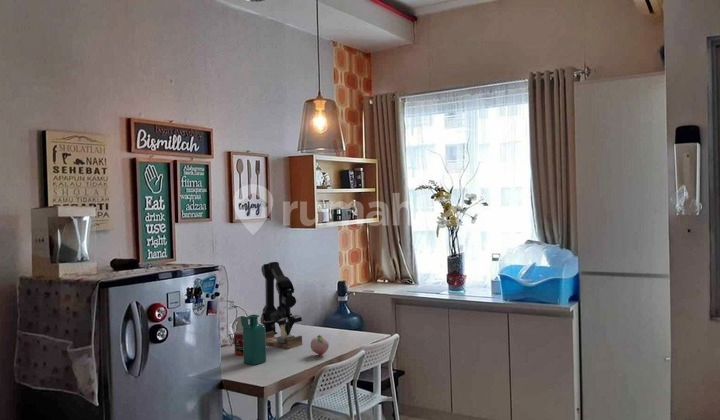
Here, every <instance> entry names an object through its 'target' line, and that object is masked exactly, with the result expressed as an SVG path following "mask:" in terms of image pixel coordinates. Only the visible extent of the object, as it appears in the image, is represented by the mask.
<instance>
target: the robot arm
mask: <svg viewBox="0 0 720 420" xmlns="http://www.w3.org/2000/svg"><path fill="white" fill-rule="evenodd" d="M261 273H262V276H263V278H264V279H265V281H264V283H265V305H264V307H263V308H262V313H261V316H260V320H259V321H260V325H263V326H265V333H267V332H271V331H274V335H277V334H278V332H277V331H276V329H277V328H276V324H278V326H279V330H281V326H280V325H284V324H286V331H287V335H289V333H290V332H291V331H292V328H293V326H294V324H297V323H300V322H302V321H303V319H302V318H303V317H302V316H301V315H298V314H297V315H296V314H295V315H293V313H292V312H291V308H293V307H294V306H296V303H297V299H296V296H295V295H293V294H294V293H295V287H294V285H293V282H292V281H291V279H290V278H289V277H288V276H286V275H284V273H283V271H282V269H281V266H280V263H279V261H270V262H268V263H263V265H262V266H261ZM275 281H276V282H275ZM275 289H276V291H277V294H278V305H277V307H275Z"/></svg>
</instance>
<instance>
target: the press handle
mask: <svg viewBox="0 0 720 420" xmlns="http://www.w3.org/2000/svg"><path fill="white" fill-rule="evenodd" d="M280 326H281V329H280V336H277V342H280V343H286V339H290V338H293V337H296V336H295V335H291V334H292V332H291V331H290V333H289V335H287V331H286V324H284V325H280Z"/></svg>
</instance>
